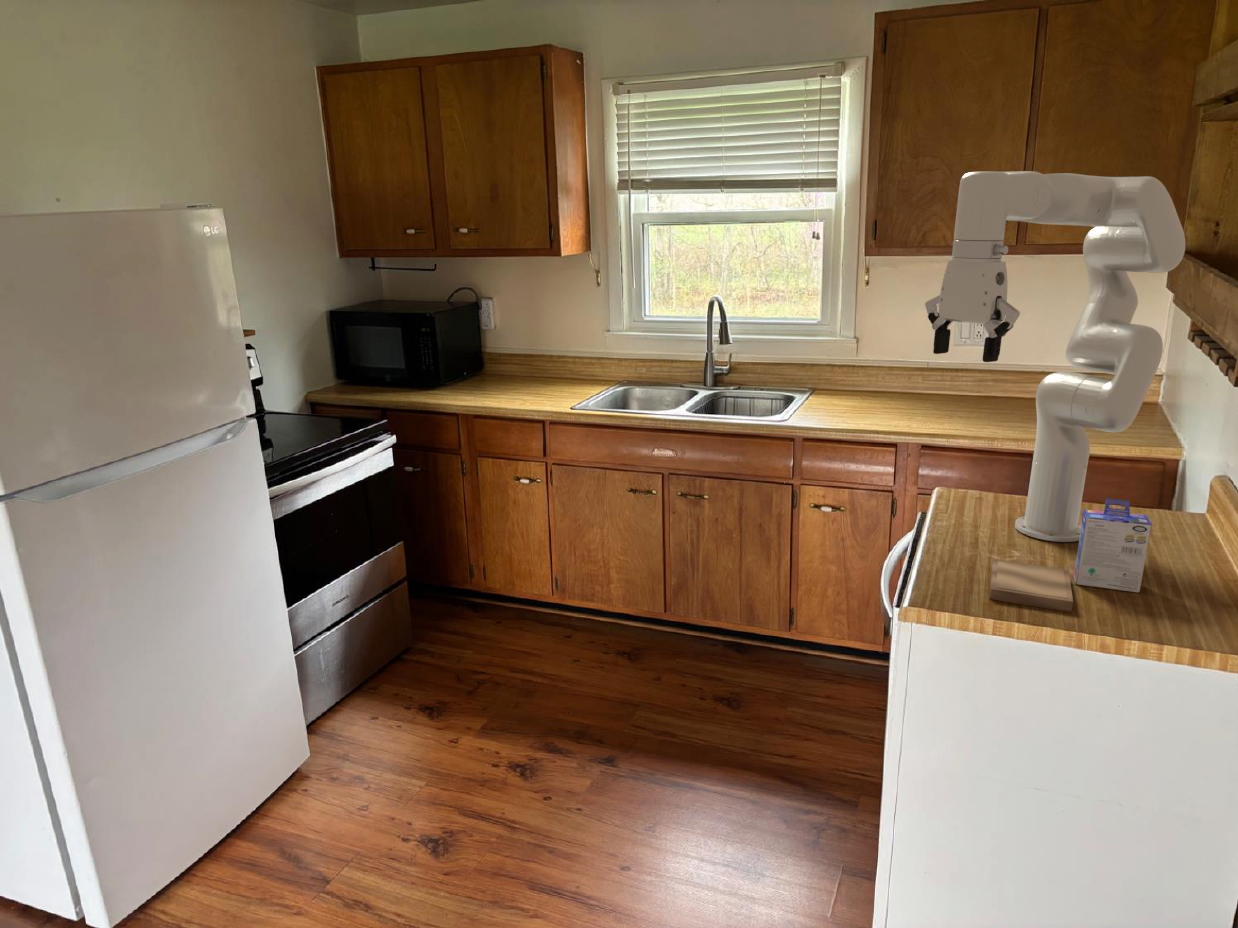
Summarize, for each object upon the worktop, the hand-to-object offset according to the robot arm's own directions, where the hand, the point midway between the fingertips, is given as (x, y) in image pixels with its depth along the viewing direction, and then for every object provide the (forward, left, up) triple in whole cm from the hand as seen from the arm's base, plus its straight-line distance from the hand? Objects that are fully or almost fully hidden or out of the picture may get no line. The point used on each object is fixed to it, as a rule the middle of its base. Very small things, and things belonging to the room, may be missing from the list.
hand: (964, 357), depth 148 cm
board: (+5, +14, -37) cm, 40 cm away
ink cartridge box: (-3, +26, -38) cm, 46 cm away
